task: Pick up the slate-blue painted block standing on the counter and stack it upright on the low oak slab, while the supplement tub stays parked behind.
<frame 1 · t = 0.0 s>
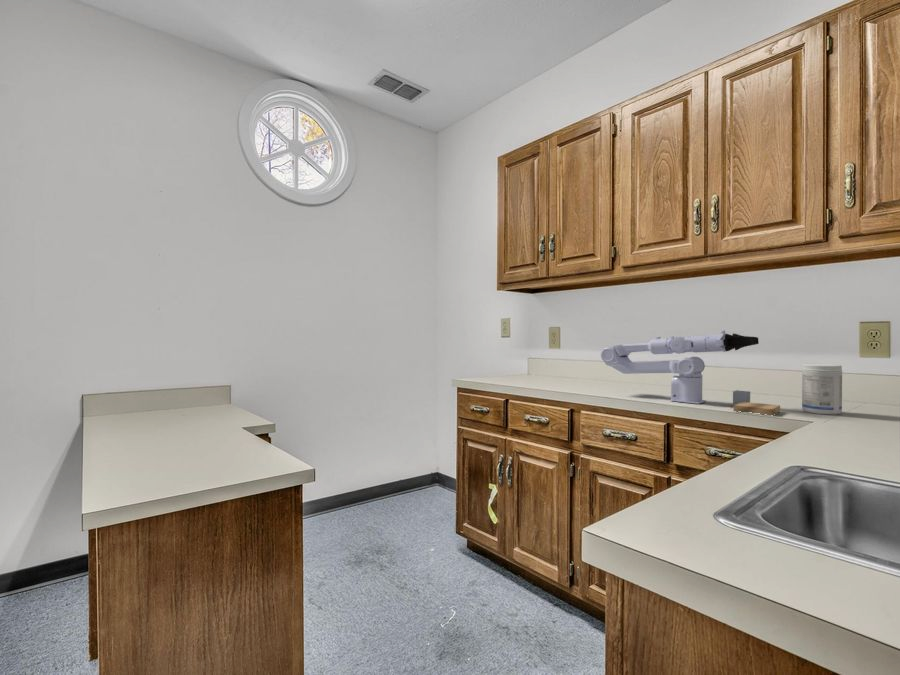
hand: (755, 340, 147), 22 cm above the worktop, tool horizontal, fingers open, 7 cm apart
block: (741, 406, 152), on the worktop
slab: (756, 411, 142), on the worktop
supplement tub: (821, 413, 141), on the worktop
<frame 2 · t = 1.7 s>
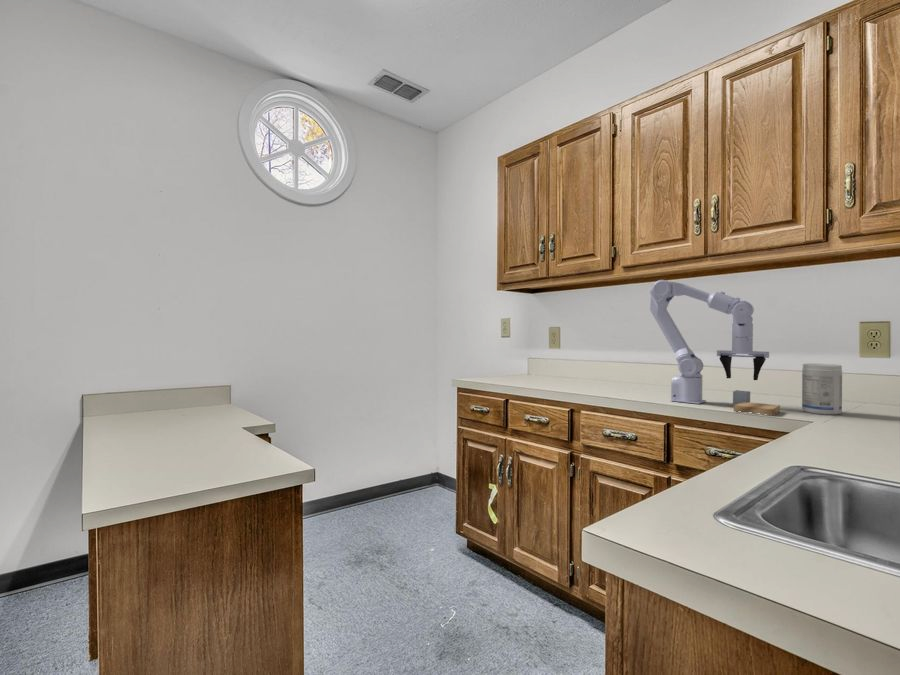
hand: (741, 379, 151), 9 cm above the worktop, tool pointing down, fingers open, 7 cm apart
nothing on the worktop moved.
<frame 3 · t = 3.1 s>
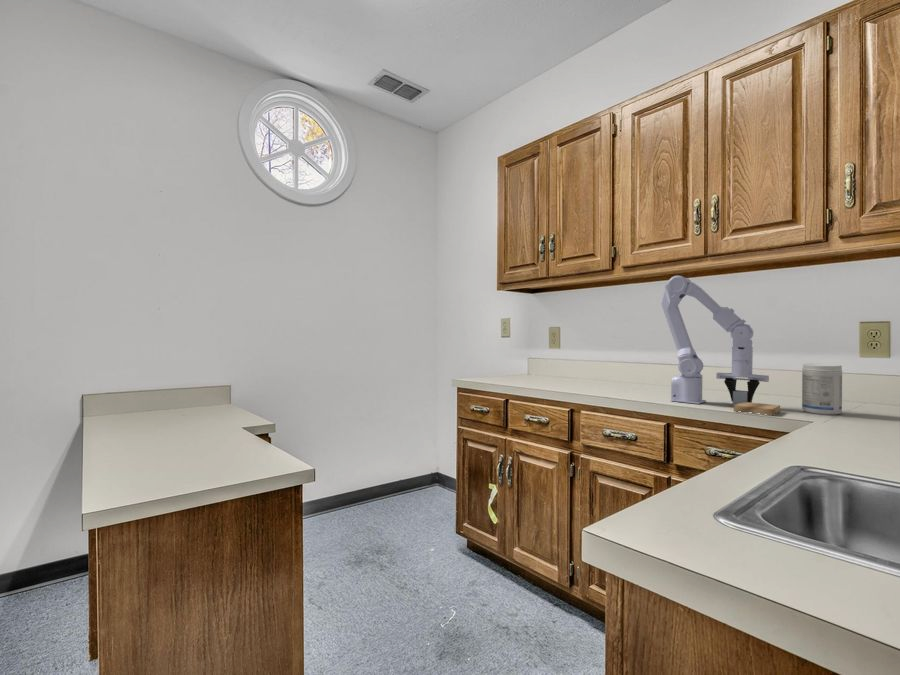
hand: (741, 402, 152), 1 cm above the worktop, tool pointing down, fingers closed on block, 4 cm apart
block: (741, 406, 152), on the worktop, touching gripper
everything else where it was.
when the fingers open (4 cm above the worktop, at t = 5.5 s): block stays where it is, resting on slab.
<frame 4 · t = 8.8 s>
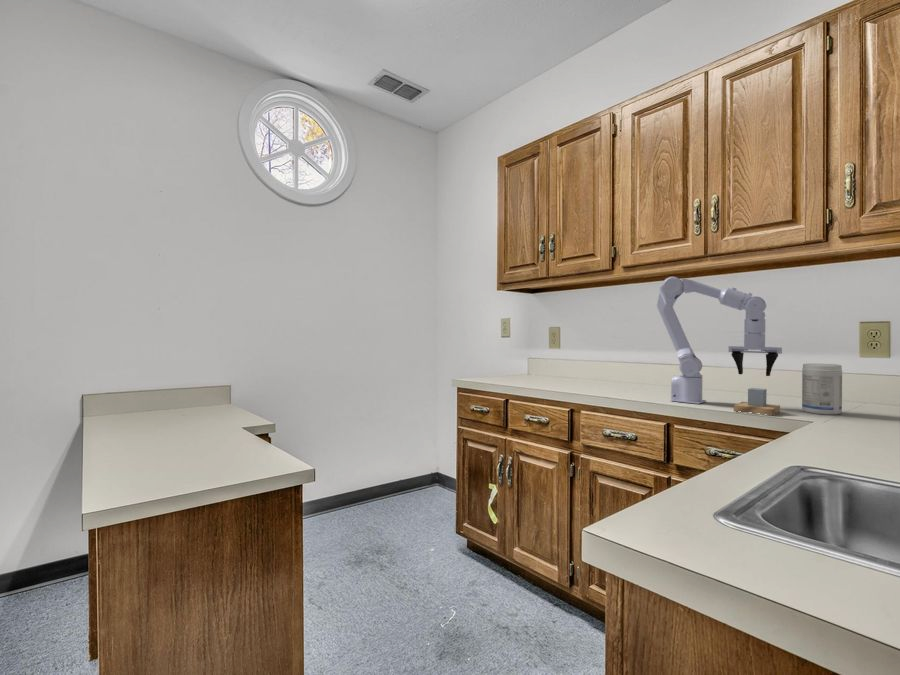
hand: (754, 375, 151), 10 cm above the worktop, tool pointing down, fingers open, 7 cm apart
block: (757, 405, 142), point 2 cm above the worktop, touching slab
everything else where it was.
at the end: block inside the target area on the slab (0.2 cm from its centre), point 2.0 cm above the slab's base; block tilted 0°; the gripper is holding nothing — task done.
